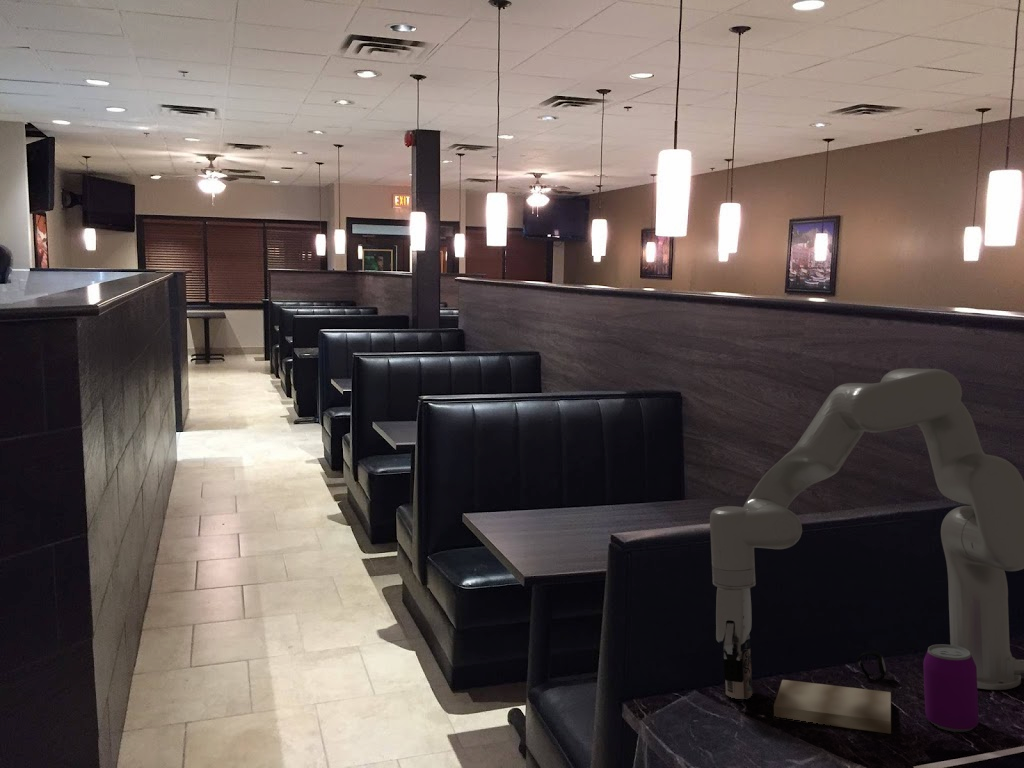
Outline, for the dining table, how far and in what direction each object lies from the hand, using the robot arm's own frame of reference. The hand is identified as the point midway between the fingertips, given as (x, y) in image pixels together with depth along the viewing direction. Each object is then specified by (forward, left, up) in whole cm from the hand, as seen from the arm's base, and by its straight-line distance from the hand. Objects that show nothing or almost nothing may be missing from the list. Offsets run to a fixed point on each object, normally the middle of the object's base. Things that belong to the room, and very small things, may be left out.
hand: (738, 671), depth 146 cm
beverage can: (-34, 0, -5) cm, 34 cm away
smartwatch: (-22, -16, -5) cm, 28 cm away
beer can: (0, 0, -5) cm, 5 cm away
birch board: (-16, +1, -4) cm, 17 cm away
